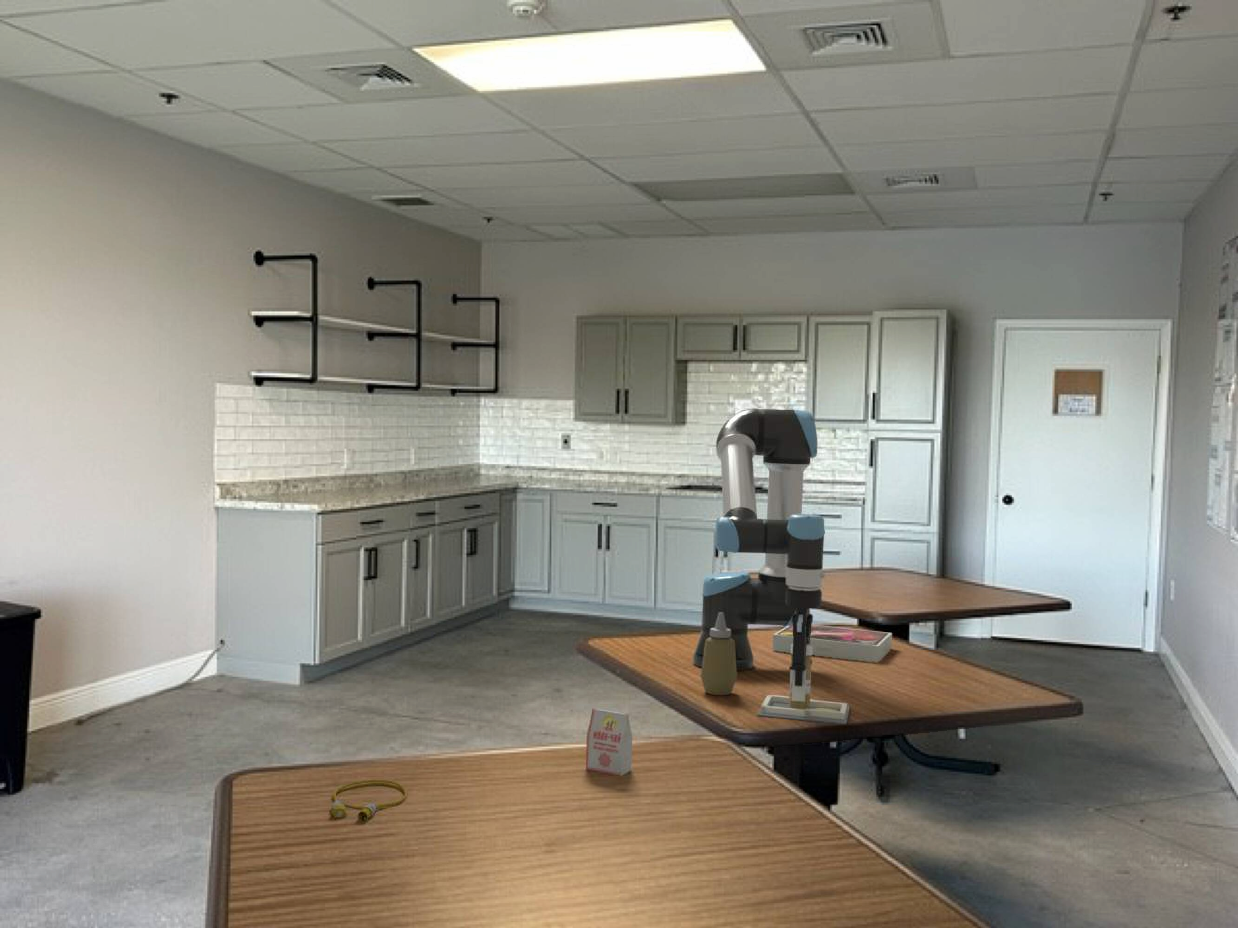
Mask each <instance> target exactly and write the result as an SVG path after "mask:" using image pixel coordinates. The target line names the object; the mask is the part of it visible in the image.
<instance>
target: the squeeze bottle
mask: <svg viewBox="0 0 1238 928" xmlns="http://www.w3.org/2000/svg"><path fill="white" fill-rule="evenodd" d="M710 636H711V637H709V638H708V639H706V641H705V649H704V656H703V663H702V667H701V672H700V677H701V681H702V685H703V689H704V692H705V693H707V694H709V695H713V696H727V695H731V694H732V692H733V689H734V687H735V684H736V681H737V678H738V673H737V672H738V671H736V655H735V641H734V640H733V639H731V638H729V637H731V630H730V629H728V628H726V623H725V617H724V613H718V617H717V621H716V625H715V628H711V629H710Z"/></svg>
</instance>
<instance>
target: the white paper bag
mask: <svg viewBox="0 0 1238 928" xmlns="http://www.w3.org/2000/svg"><path fill="white" fill-rule="evenodd" d="M629 717H630V715H629V713H627V714H626V713H622V712H617V711H611V710H605V709H600V708H599V709H597V708H592V709H591V715H590V719H589V725H588V729H587V733H586V749H585V750H586V751H585V752H586V753H585V770H589V771H594V772H599V773H603V774H608V775H613V776H618V777H622V776H624V775H626V774H628V773H629V772H631V771H632V752H633V750H632V749H633V734H632V729H631V725H630V719H629Z"/></svg>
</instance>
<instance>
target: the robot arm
mask: <svg viewBox="0 0 1238 928" xmlns="http://www.w3.org/2000/svg"><path fill="white" fill-rule="evenodd" d="M715 444H716V445H715V447H716V448H715V450H716V455H717V458H718V459H719V460H720V464H721V465H720V467H721V468H720V469H721V471H720V472H721V487H722V488H721V490H722V492H721V493H722V512H723V517H719V518H716V520H715V535H714V536H715V537H714V538H715V539H714V542H715V543H714V544H715V548H716V550H718V551H719V552H728V553H733V554H736V553H745V554H765V557H764V558H765V559H764V564H763V566H762V567H761V568H760V569H759V570H758V572H757V573H758V577H756V578H755V577H751V574H750V572H748V571H737V570H736V571H734V570H733V571H723V572H716V573H712V574H709V575H707V576H706V577H705V578H704V580H703V585H702V592H701V596H702V609H701V632H700V636H699V639H698V641H697V644H696V646H695V649H694V652H693V657H692V658H693V660H692V663H693V665H695V666H696V667H700V668H702V663H703V656H704V649H705V641H706V639H708V638H709V637H711V636H710V629H711V628H715V625H716V621H717V617H718V613H724V617H725V623H726V628H728V629H730V630H731V637H729V638H731V639H733V640H734V641H735V655H736V671H737V672H738V671H745V670H750V669H752V668H753V667H754V663H755V661H754V659H755V658H754V655H753V651H752V647H751V643H750V640H749V635H748V631H749V630H748V629H749V625H760V626H762V625H764V626H783V627H784V628H785V627H787V626H793V658H792V667H791V666H789V667H788V668H789V669H788V670H793V676H792V701H802V702H805V687H806V670H805V669H806V667H805V663H806V647H807V644H809V645H810V634H811V627H812V625H813V620H814V615H813V614H812V613H811V610H812V609H818V608H821V606H822V599H823V598H822V595H823V593H822V589H820V588H822V587H823V579H824V578H826V574H825V573H824V572H823V566H824V565H823V563H824V562H823V559H824V543H825V534H826V530H825V519H824V517H823V516H821V515H818V514H811V513H808V514H807V513H802V511H803V494H804V493H803V492H804V471H805V470H806V469H808V468H809V467H810V465H811V459H813V458H816V457H817V456H818V434H817V427H816V423H815V418H814V416H813V414H812V413H811V412H810V411H808V410H798V409H794V408H793V409H777V408H776V409H772V408H771V409H770V408H747V409H744V410H741V411H739V412H736V414H734V415H732V416H730V418H728V420H726V422H725V423H724V424H723V426H722V427H721V428H720V430H719V432H718V435H717V437H716V442H715ZM755 456H760V457H761V456H763V457H762V463H763V465H764V466H765V467H766V468H767V469H768V483H767V485H768V486H767V508H766V509H767V510H766V519H765V518H758V511H757V500H756V486H755V485H756V484H755V472H754V462H753V461H754V460H753V458H754V457H755ZM812 665H813V660H811V666H812Z"/></svg>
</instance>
